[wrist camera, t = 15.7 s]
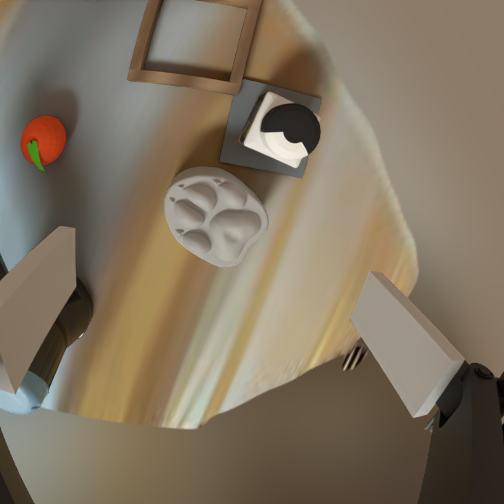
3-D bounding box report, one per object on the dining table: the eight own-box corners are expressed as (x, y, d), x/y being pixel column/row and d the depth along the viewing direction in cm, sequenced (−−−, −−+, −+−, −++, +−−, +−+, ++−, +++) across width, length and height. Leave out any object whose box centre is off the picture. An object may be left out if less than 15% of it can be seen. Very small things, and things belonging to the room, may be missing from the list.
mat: (219, 161, 43) (219, 161, 42) (237, 78, 38) (237, 77, 38) (301, 177, 45) (302, 178, 45) (319, 99, 41) (321, 99, 40)
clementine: (79, 160, 39) (59, 168, 33) (42, 173, 39) (19, 183, 33) (69, 108, 36) (47, 108, 30) (31, 124, 36) (6, 127, 29)
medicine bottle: (258, 95, 39) (278, 85, 28) (304, 116, 41) (338, 117, 30) (237, 141, 41) (248, 148, 31) (283, 161, 43) (310, 176, 33)
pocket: (130, 81, 36) (126, 79, 35) (156, -12, 31) (154, -17, 29) (237, 96, 39) (238, 95, 38) (260, 3, 34) (262, -2, 32)
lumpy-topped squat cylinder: (225, 255, 49) (230, 282, 41) (153, 207, 44) (143, 227, 36) (268, 201, 46) (282, 219, 38) (196, 148, 42) (193, 154, 34)
